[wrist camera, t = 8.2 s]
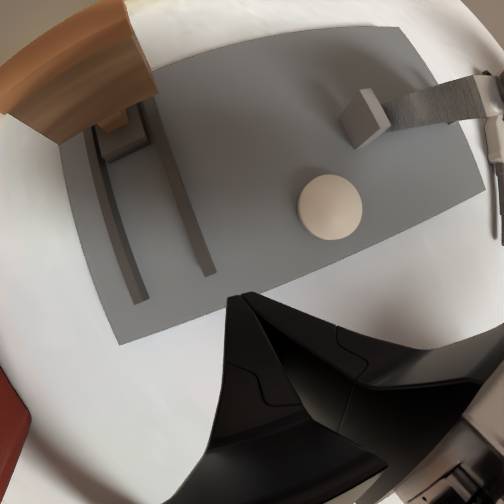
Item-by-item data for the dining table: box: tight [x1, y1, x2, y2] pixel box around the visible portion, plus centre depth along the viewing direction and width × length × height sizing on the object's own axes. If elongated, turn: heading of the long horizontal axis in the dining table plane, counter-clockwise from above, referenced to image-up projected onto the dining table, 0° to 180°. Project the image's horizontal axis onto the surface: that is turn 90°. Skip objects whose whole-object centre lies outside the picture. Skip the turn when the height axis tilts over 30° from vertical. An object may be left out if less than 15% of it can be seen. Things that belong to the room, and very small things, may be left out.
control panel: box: [59, 27, 486, 345], centre depth 15 cm, size 16×29×6 cm, turn 112°
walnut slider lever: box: [0, 0, 159, 163], centre depth 11 cm, size 4×6×9 cm, turn 112°
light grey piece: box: [380, 70, 504, 133], centre depth 11 cm, size 2×8×11 cm, turn 111°
